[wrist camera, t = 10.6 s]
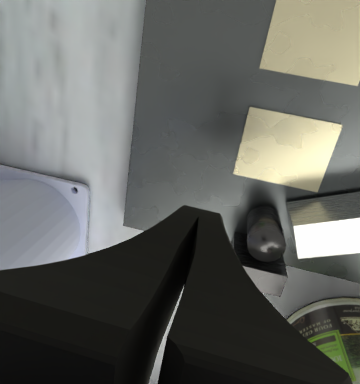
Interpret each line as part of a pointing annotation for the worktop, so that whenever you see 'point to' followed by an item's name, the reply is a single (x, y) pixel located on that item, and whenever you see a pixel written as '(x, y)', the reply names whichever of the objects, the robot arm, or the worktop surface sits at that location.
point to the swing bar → (307, 228)
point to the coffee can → (333, 331)
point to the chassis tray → (247, 117)
